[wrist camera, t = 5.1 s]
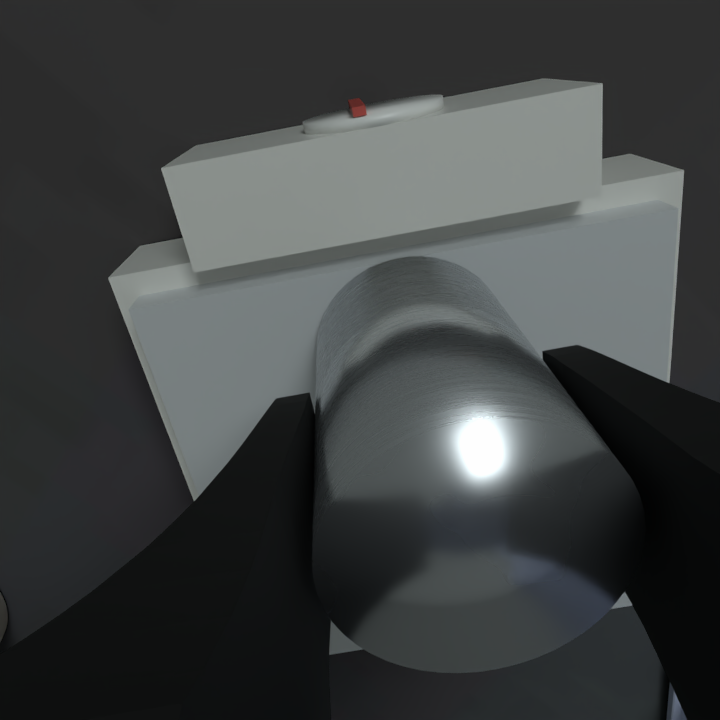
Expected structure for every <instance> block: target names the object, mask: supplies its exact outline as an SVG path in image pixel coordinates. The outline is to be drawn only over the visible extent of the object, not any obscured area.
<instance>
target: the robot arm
mask: <svg viewBox="0 0 720 720" xmlns="http://www.w3.org/2000/svg"><path fill="white" fill-rule="evenodd" d="M542 354H543V361H544V362H545V363H546V365H547V366H548V367H549V369H550V370H551V371H552V373H553V374H554V375H555V377H556V378H557V379H558V381H559V382H560V383H561V385H562V386H563V387H564V389H565V390H566V391H567V393H568V394H569V395H570V397H571V398H572V399H573V401H574V402H575V403H576V405H577V406H578V407H579V409H580V410H581V412H582V413H583V414H584V416H585V417H586V418H587V420H588V421H589V422H590V424H591V425H592V426H593V428H594V429H595V430H596V432H597V433H598V434H599V436H600V437H601V438H602V440H603V441H604V442H605V444H606V445H607V446H608V448H609V449H610V450H611V452H612V453H613V454H614V456H615V457H616V458H617V460H618V461H619V462H620V464H621V465H622V466H623V468H624V469H625V470H626V472H627V473H628V474H629V476H630V477H631V479H632V480H633V482H634V484H635V486H636V488H637V490H638V492H639V494H640V497H641V501H642V504H643V508H644V512H645V524H646V532H645V544H644V548H643V552H642V556H641V560H640V563H639V565H638V567H637V570H636V572H635V574H634V577H633V578H632V580H631V582H630V583H629V585H628V587H627V588H626V590H625V593H626V595H627V596H628V598H629V600H630V602H631V603H632V605H633V607H634V609H635V611H636V613H637V614H638V616H639V618H640V620H641V622H642V624H643V626H644V628H645V630H646V632H647V634H648V636H649V638H650V640H651V642H652V645H653V647H654V649H655V651H656V653H657V655H658V657H659V659H660V662H661V664H662V666H663V668H664V670H665V672H666V674H667V676H668V679H669V681H670V686H669V697H668V707H667V718H666V720H720V403H719V402H716V401H713V400H711V399H708V398H705V397H703V396H700V395H697V394H695V393H692V392H690V391H687V390H685V389H682V388H680V387H677V386H675V385H672V384H670V383H668V382H665V381H663V380H660V379H658V378H656V377H653V376H651V375H649V374H646V373H644V372H642V371H640V370H637V369H635V368H633V367H630V366H628V365H626V364H624V363H621V362H619V361H617V360H615V359H612V358H610V357H608V356H605V355H603V354H601V353H598V352H596V351H594V350H591V349H588V348H586V347H583V346H580V345H573V346H568V347H562V348H556V349H551V350H545V351H542ZM314 441H315V413H314V409H313V404H312V400H311V396H310V392H309V393H304V394H298V395H292V396H287V397H281V398H276V399H275V400H274V402H273V403H272V404H271V406H270V407H269V408H268V410H267V411H266V412H265V414H264V415H263V416H262V418H261V419H260V420H259V422H258V423H257V425H256V426H255V427H254V429H253V430H252V431H251V433H250V434H249V436H248V437H247V438H246V440H245V441H244V442H243V444H242V445H241V446H240V448H239V449H238V450H237V451H236V453H235V454H234V455H233V457H232V458H231V459H230V460H229V462H228V463H227V464H226V465H225V467H224V468H223V469H222V470H221V471H220V472H219V473H218V475H217V476H216V477H215V478H214V479H213V480H212V482H211V483H210V484H209V485H208V486H207V487H206V488H205V490H204V491H203V492H202V493H201V494H200V495H199V497H198V498H197V499H196V500H195V501H194V502H193V503H192V504H191V505H190V506H189V507H188V508H187V509H186V510H185V511H184V512H183V513H182V514H181V515H180V516H179V517H178V518H177V519H176V520H175V521H174V522H173V523H172V524H171V525H170V526H169V527H168V528H167V529H166V530H165V531H164V532H163V533H162V534H160V535H159V536H158V537H157V538H156V539H155V540H154V541H153V542H152V543H151V544H150V545H148V546H147V547H146V548H145V549H144V550H143V551H142V552H140V553H139V554H138V555H137V556H135V557H134V558H133V559H132V560H130V561H129V562H128V563H127V564H126V565H124V566H123V567H122V568H121V569H119V570H118V571H117V572H116V573H114V574H113V575H112V576H111V577H110V578H108V579H107V580H106V581H105V582H103V583H102V584H101V585H100V586H98V587H97V588H96V589H95V590H93V591H92V592H91V593H89V594H88V595H87V596H85V597H84V598H83V599H81V600H80V601H78V602H77V603H76V604H74V605H73V606H71V607H70V608H69V609H67V610H66V611H65V612H63V613H62V614H60V615H59V616H57V617H56V618H54V619H53V620H52V621H50V622H49V623H47V624H46V625H44V626H43V627H41V628H40V629H38V630H37V631H35V632H34V633H32V634H31V635H29V636H28V637H26V638H25V639H23V640H22V641H20V642H19V643H17V644H16V645H14V646H12V647H11V648H9V649H8V650H6V651H5V652H3V653H1V654H0V720H331V710H330V687H329V646H330V628H331V619H330V618H329V616H328V615H327V613H326V612H325V610H324V609H323V607H322V604H321V602H320V600H319V598H318V595H317V592H316V588H315V584H314V580H313V569H312V539H313V490H314Z"/></svg>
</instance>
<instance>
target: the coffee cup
mask: <svg viewBox="0 0 720 720" xmlns="http://www.w3.org/2000/svg"><path fill="white" fill-rule="evenodd" d="M7 622H8V613H7V607H6V604H5V601H4V598H3V596H2V594H1V592H0V643H1V640H2V638H3V635H4V633H5V630H6V627H7Z"/></svg>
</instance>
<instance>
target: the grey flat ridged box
mask: <svg viewBox="0 0 720 720" xmlns="http://www.w3.org/2000/svg"><path fill="white" fill-rule="evenodd" d="M602 94H603V83H592V82H580V81H569V80H557V79H545V78H543V79H538V80H533V81H528V82H522V83H517V84H512V85H507V86H502V87H496V88H491V89H486V90H481V91H476V92H471V93H465V94H460V95H455V96H450V97H445V98H443V96H442V95H423V96H414V97H407V98H400V99H393V100H387V101H381V102H376V103H370V104H364V103H363V102H362V101H361V100H360V98H357V99H352V100H348V103H349V108H346V109H342V110H337V111H333V112H329V113H326V114H322V115H318V116H315V117H312V118H309V119H307V120H305V121H303V125H300V126H295V127H289V128H284V129H279V130H274V131H269V132H263V133H258V134H253V135H248V136H243V137H238V138H232V139H227V140H222V141H217V142H212V143H207V144H201V145H196V146H194V147H193V148H191V149H190V150H188V151H187V152H185V153H184V154H182V155H181V156H179V157H178V158H176V159H174V160H173V161H171V162H170V163H168V164H167V165H165V166H164V167H162V168H161V170H162V173H163V176H164V179H165V182H166V185H167V189H168V192H169V195H170V198H171V201H172V205H173V208H174V211H175V214H176V217H177V220H178V224H179V227H180V230H181V233H182V236H183V238H179V239H174V240H169V241H163V242H158V243H153V244H147V245H142V246H139V247H138V248H137V249H136V250H135V251H134V252H133V253H132V254H131V255H130V256H129V257H128V258H127V259H126V260H125V261H124V262H123V263H122V264H121V265H120V266H119V267H118V268H117V269H116V270H115V271H114V272H113V273H112V274H111V275H110V276H109V277H108V279H109V281H110V284H111V287H112V289H113V292H114V294H115V297H116V300H117V302H118V305H119V307H120V310H121V313H122V315H123V318H124V320H125V323H126V326H127V328H128V331H129V333H130V336H131V339H132V341H133V344H134V346H135V349H136V352H137V354H138V357H139V359H140V362H141V365H142V367H143V370H144V372H145V375H146V378H147V380H148V383H149V385H150V388H151V391H152V393H153V396H154V398H155V401H156V404H157V406H158V409H159V411H160V414H161V417H162V419H163V422H164V424H165V427H166V430H167V432H168V435H169V437H170V440H171V443H172V445H173V448H174V450H175V453H176V456H177V458H178V461H179V463H180V466H181V469H182V471H183V474H184V476H185V479H186V482H187V484H188V487H189V489H190V492H191V495H192V497H193V500H194V501H195V500H196V499H197V498H198V497H199V495H200V494H201V493H202V492H203V491H204V490H205V488H206V487H207V486H208V485H209V484H210V483H211V482H212V480H213V479H214V478H215V477H216V476H217V475H218V473H219V472H220V471H221V470H222V469H223V468H224V467H225V465H226V464H227V463H228V462H229V460H230V459H231V458H232V457H233V455H234V454H235V453H236V451H237V450H238V449H239V448H240V446H241V445H242V444H243V442H244V441H245V440H246V438H247V437H248V436H249V434H250V433H251V431H252V430H253V429H254V427H255V426H256V425H257V423H258V422H259V420H260V419H261V418H262V416H263V415H264V414H265V412H266V411H267V410H268V408H269V407H270V406H271V404H272V403H273V402H274V400H275V399H276V398H281V397H287V396H292V395H298V394H304V393H309V392H310V396H311V400H312V404H313V409H314V413H315V392H316V346H317V335H318V331H319V327H320V323H321V321H322V318H323V316H324V313H325V311H326V309H327V308H328V306H329V304H330V302H331V301H332V300H333V298H334V297H335V296H336V294H337V293H338V292H339V291H340V290H341V289H342V288H343V287H344V286H345V285H346V284H347V283H348V282H349V281H350V280H352V279H353V278H354V277H355V276H357V275H358V274H360V273H361V272H363V271H365V270H366V269H368V268H370V267H372V266H375V265H377V264H379V263H381V262H385V261H388V260H392V259H396V258H402V257H409V256H425V257H435V258H439V259H443V260H447V261H450V262H453V263H455V264H458V265H460V266H462V267H464V268H465V269H467V270H469V271H471V272H472V273H473V274H475V275H476V276H477V277H479V278H480V279H481V280H482V281H483V282H484V283H485V284H486V285H487V286H488V287H489V289H490V290H491V291H492V293H493V294H494V295H495V297H496V298H497V299H498V301H499V302H500V303H501V305H502V306H503V307H504V309H505V310H506V311H507V313H508V314H509V315H510V317H511V318H512V319H513V321H514V322H515V323H516V325H517V326H518V327H519V329H520V330H521V331H522V333H523V334H524V335H525V337H526V338H527V339H528V341H529V342H530V343H531V345H532V346H533V347H534V349H535V350H536V351H537V353H538V354H539V355H540V357H541V358H542V359H543V354H542V351H545V350H551V349H556V348H562V347H568V346H573V345H580V346H583V347H586V348H588V349H591V350H594V351H596V352H598V353H601V354H603V355H605V356H608V357H610V358H612V359H615V360H617V361H619V362H621V363H624V364H626V365H628V366H630V367H633V368H635V369H637V370H640V371H642V372H644V373H646V374H649V375H651V376H653V377H656V378H658V379H660V380H663V381H665V382H668V383H669V381H670V367H671V352H672V338H673V323H674V309H675V294H676V280H677V265H678V251H679V236H680V222H681V207H682V193H683V179H684V170H681V169H678V168H675V167H672V166H668V165H665V164H662V163H659V162H656V161H652V160H649V159H646V158H643V157H639V156H636V155H633V154H626V155H621V156H615V157H610V158H605V159H602ZM625 606H632V603H631V602H630V600H629V598H628V596H627V595H626V593H625V592H624V593H623V594H622V596H621V597H620V598H619V599H618V601H617V602H616V603H615V605H614V606H613V607H612V608H611V609H613V608H619V607H625ZM356 650H362V648H361V647H359V646H358V645H356V644H355V643H354V642H352V641H351V640H350V639H349V638H347V637H346V636H345V635H344V634H343V633H342V632H341V631H340V630H339V629H338V628H337V627H336V626H335V625H334V623H333V622H332V621H331V628H330V646H329V655H331V654H337V653H344V652H350V651H356Z"/></svg>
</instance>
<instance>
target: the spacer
mask: <svg viewBox="0 0 720 720" xmlns="http://www.w3.org/2000/svg"><path fill="white" fill-rule="evenodd" d="M645 532H646V524H645V512H644V508H643V504H642V501H641V497H640V494H639V492H638V490H637V488H636V486H635V484H634V482H633V480H632V479H631V477H630V476H629V474H628V473H627V472H626V470H625V469H624V468H623V466H622V465H621V464H620V462H619V461H618V460H617V458H616V457H615V456H614V454H613V453H612V452H611V450H610V449H609V448H608V446H607V445H606V444H605V442H604V441H603V440H602V438H601V437H600V436H599V434H598V433H597V432H596V430H595V429H594V428H593V426H592V425H591V424H590V422H589V421H588V420H587V418H586V417H585V416H584V414H583V413H582V412H581V410H580V409H579V407H578V406H577V405H576V403H575V402H574V401H573V399H572V398H571V397H570V395H569V394H568V393H567V391H566V390H565V389H564V387H563V386H562V385H561V383H560V382H559V381H558V379H557V378H556V377H555V375H554V374H553V373H552V371H551V370H550V369H549V367H548V366H547V365H546V363H545V362H544V361H543V359H542V358H541V357H540V355H539V354H538V353H537V351H536V350H535V349H534V347H533V346H532V345H531V343H530V342H529V341H528V339H527V338H526V337H525V335H524V334H523V333H522V331H521V330H520V329H519V327H518V326H517V325H516V323H515V322H514V321H513V319H512V318H511V317H510V315H509V314H508V313H507V311H506V310H505V309H504V307H503V306H502V305H501V303H500V302H499V301H498V299H497V298H496V297H495V295H494V294H493V293H492V291H491V290H490V289H489V287H488V286H487V285H486V284H485V283H484V282H483V281H482V280H481V279H480V278H479V277H477V276H476V275H475V274H473V273H472V272H471V271H469V270H467V269H465V268H464V267H462V266H460V265H458V264H455V263H453V262H450V261H447V260H443V259H439V258H435V257H425V256H409V257H402V258H396V259H392V260H388V261H385V262H381V263H379V264H377V265H375V266H372V267H370V268H368V269H366V270H365V271H363V272H361V273H360V274H358V275H357V276H355V277H354V278H353V279H352V280H350V281H349V282H348V283H347V284H346V285H345V286H344V287H343V288H342V289H341V290H340V291H339V292H338V293H337V294H336V296H335V297H334V298H333V300H332V301H331V302H330V304H329V306H328V308H327V309H326V311H325V313H324V316H323V318H322V321H321V323H320V327H319V331H318V335H317V346H316V392H315V441H314V490H313V539H312V569H313V580H314V584H315V588H316V592H317V595H318V598H319V600H320V602H321V604H322V607H323V609H324V610H325V612H326V613H327V615H328V616H329V618H330V619H331V621H332V622H333V623H334V625H335V626H336V627H337V628H338V629H339V630H340V631H341V632H342V633H343V634H344V635H345V636H346V637H347V638H349V639H350V640H351V641H352V642H354V643H355V644H356V645H358V646H359V647H361V648H362V649H364V650H366V651H367V652H369V653H371V654H373V655H375V656H377V657H379V658H381V659H384V660H386V661H388V662H391V663H394V664H397V665H401V666H404V667H408V668H413V669H417V670H422V671H430V672H439V673H469V672H481V671H488V670H495V669H500V668H504V667H508V666H513V665H517V664H520V663H523V662H526V661H529V660H532V659H535V658H537V657H540V656H542V655H544V654H547V653H549V652H551V651H553V650H555V649H557V648H559V647H561V646H563V645H565V644H566V643H568V642H570V641H572V640H573V639H575V638H576V637H578V636H579V635H581V634H582V633H584V632H585V631H587V630H588V629H589V628H590V627H591V626H593V625H594V624H595V623H596V622H597V621H599V620H600V619H601V618H602V617H603V616H604V615H605V614H606V613H607V612H608V611H609V610H610V609H611V608H612V607H613V606H614V605H615V603H616V602H617V601H618V599H619V598H620V597H621V596H622V594H623V593H624V592H625V590H626V588H627V587H628V585H629V583H630V582H631V580H632V578H633V577H634V574H635V572H636V570H637V567H638V565H639V563H640V560H641V556H642V552H643V548H644V544H645Z"/></svg>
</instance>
